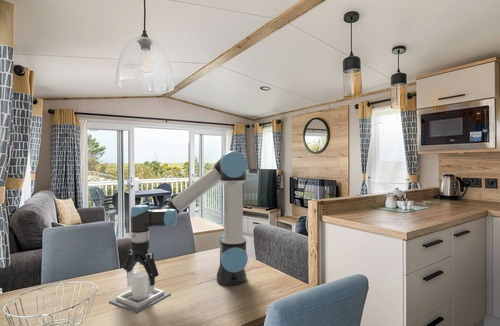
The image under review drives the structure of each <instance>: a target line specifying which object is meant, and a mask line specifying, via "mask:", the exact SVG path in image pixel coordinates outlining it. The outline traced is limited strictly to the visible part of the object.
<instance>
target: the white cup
mask: <svg viewBox="0 0 500 326" xmlns="http://www.w3.org/2000/svg"><path fill="white" fill-rule="evenodd" d="M148 278H149V276H148V274H147V272H146V270H139V271H134V273H133V274H132V275H131V286H130V287H131V290H132V298H133V299H134V300H143V299H146V298H147V297H148V296H149V294H148Z"/></svg>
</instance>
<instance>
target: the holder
mask: <svg viewBox="0 0 500 326" xmlns="http://www.w3.org/2000/svg"><path fill="white" fill-rule="evenodd" d="M171 295H172V293H171V292H167V291H165V290H162V289H159V288H156V287H154V292H152V293H150V294H149V296H148V297H147V298H146V299H143V300H134V299H133V298H132V289H130V290H128V291H125V292H124V293H121V294H120V295H117V296H116V297H114V298H112V299H109V301H108V303H109V304H112V305H115V306H116V307H119V308H122V309H125V310H127V311H130V312H131V313H135V314H139V313H140V312H142V311H144V310H146V309H148V308H149V307H151V306H153V305H154V304H156V303H158V302H160V301H162V300H164V299H165V298H167V297H170V296H171Z"/></svg>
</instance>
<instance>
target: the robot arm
mask: <svg viewBox="0 0 500 326" xmlns="http://www.w3.org/2000/svg"><path fill="white" fill-rule="evenodd" d="M211 166H212V167H211V169H209V170H208V171H207V172H206V173H205V174H203V175H202V176H200V177H198V179H196V180H195V181H194V182H193V183H191V184H190V185H189V186H188V187H187V188H184V189H183V190H182V191H181V192H179V194H177V195H176V196H175V197H173V198H172V199H171V200H169V201H168V202H167V203H166V204H165V203H164V205H163V206H161V207H160V209H150V206H149V205H147V204H138V205H133V206H132V207H131V208H130V217H129V218H130V241H131V242H130V249H128V250H127V255H126V259H125V261H124V262H125V263H124V265H123V270H125V271H126V279H127V284H126V285H127V287H128V288H130V287H132V286H131V275H132V274H133V273H135V271H134V268H135V266H136V264H137V263H140V264H141V265H142V266H143V267H144V271H146V272H147V274H148V276H149V278H148V294H150V293H152V292H154V288H155V284H156V282H155V281H156V277H158V276H159V275H160V274H159V272H158V269H157V265H156V262H155V259H154V253H153V252H151V253H149V251H148V250H149V249H150V228H157V227H169V228H170V227H174V226H176V225H177V224H178V215H179V214H180V213H182V212H183V211H184V210H185V209H186V208H188V207H190V205H192V204H193V203H194V202H196V201H197V200H199V198H201V197H202V196H203V195H205V194H206V193H207V192H208V191H210V190H211V189H212V188H213V187H215V186H216V185H218V184H219V183H220V182H221V183H222V184H223V228H224V229H223V231H224V232H223V234H221V235H220V236H219V239H218V241H219V267H218V269H217V273H216V282H217V283H218V284H220V285H221V286H222V285H223V286H230V287H231V286H238V285H241V284H244V283H245V282H246V281H247V273H246V270H245V268H246V266H247V265H248V260H249V255H248V253H247V238H246V237H244V219H243V218H244V213H243V212H244V211H243V210H244V208H243V207H244V205H243V203H244V201H243V199H244V197H243V192H244V191H243V188H244V187H243V184H244V183H245V182H246V181H247V169H248V161H247V158H246V156H245V155H244V154H243V153H241V152H240V151H238V150H230V151H227V152H226V153H224V154H223V155H222V156H221V157H220V159H219V160H217V161H216V162H215V163H214V164H213V165H211Z"/></svg>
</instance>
